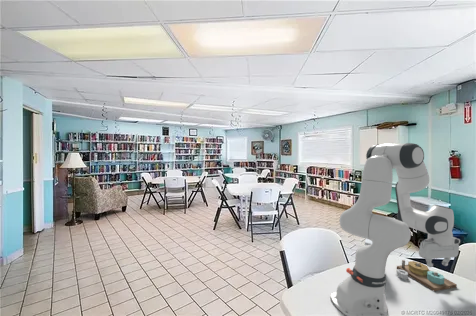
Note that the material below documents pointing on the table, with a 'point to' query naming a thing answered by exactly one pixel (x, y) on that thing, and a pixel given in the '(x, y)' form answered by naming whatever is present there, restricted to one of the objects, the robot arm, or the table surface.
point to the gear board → (424, 275)
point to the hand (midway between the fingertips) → (437, 265)
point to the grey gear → (402, 274)
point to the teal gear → (435, 278)
